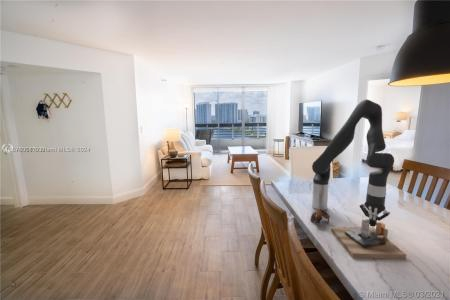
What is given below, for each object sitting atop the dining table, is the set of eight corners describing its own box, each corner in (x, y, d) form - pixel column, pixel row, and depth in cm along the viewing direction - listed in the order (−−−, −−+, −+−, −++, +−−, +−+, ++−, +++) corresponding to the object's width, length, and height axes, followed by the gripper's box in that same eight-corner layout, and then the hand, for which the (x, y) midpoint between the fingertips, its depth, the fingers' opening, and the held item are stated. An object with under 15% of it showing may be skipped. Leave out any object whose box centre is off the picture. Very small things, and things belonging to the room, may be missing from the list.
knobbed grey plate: (371, 229, 108) (372, 217, 107) (393, 243, 96) (394, 229, 95) (344, 233, 105) (345, 221, 104) (363, 247, 94) (364, 233, 93)
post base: (330, 230, 112) (331, 209, 111) (373, 230, 111) (375, 209, 109) (352, 257, 91) (354, 232, 89) (405, 258, 89) (408, 232, 87)
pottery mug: (310, 217, 129) (317, 206, 127) (324, 227, 124) (332, 216, 123) (307, 220, 118) (315, 209, 117) (322, 232, 114) (331, 220, 112)
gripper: (357, 191, 105) (354, 223, 108) (389, 199, 94) (385, 234, 97) (364, 187, 109) (361, 218, 112) (395, 195, 99) (391, 229, 102)
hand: (372, 225), depth 105 cm, fingers closed
